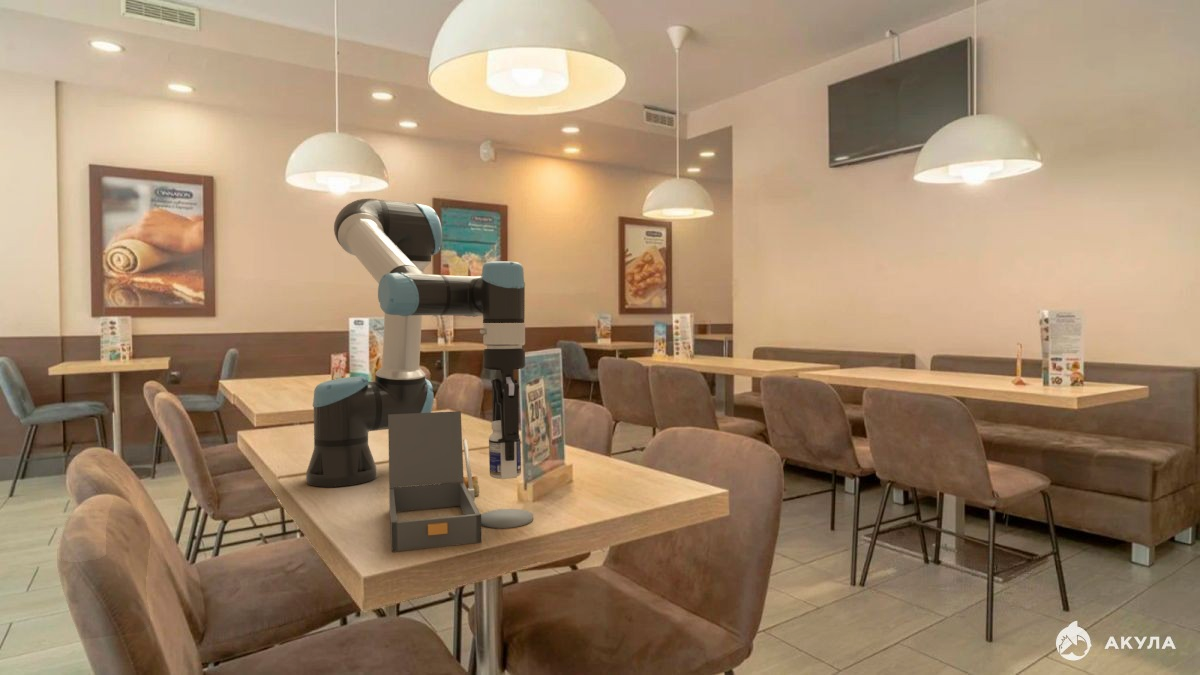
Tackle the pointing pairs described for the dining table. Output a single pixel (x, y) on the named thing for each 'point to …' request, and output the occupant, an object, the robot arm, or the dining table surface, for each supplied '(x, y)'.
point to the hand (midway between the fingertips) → (505, 474)
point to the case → (430, 481)
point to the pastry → (475, 484)
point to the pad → (506, 518)
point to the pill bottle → (496, 451)
